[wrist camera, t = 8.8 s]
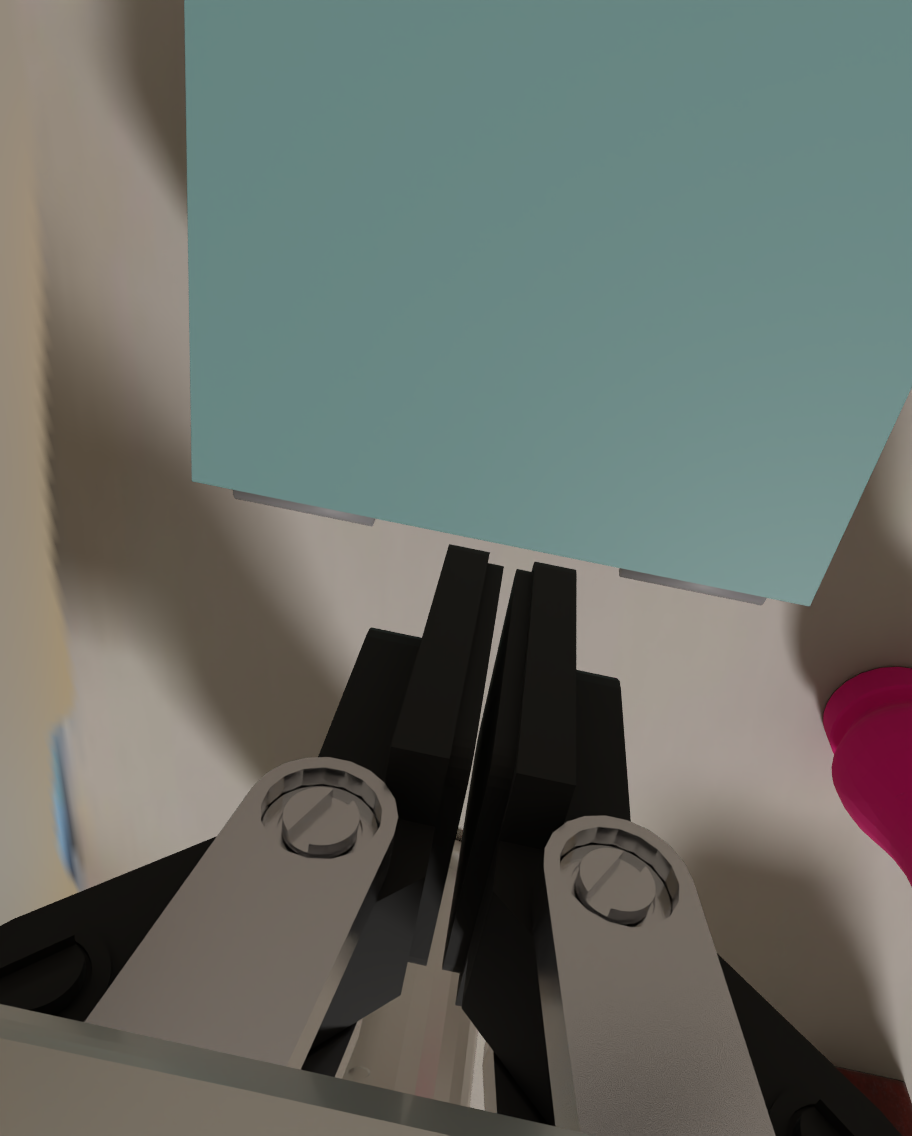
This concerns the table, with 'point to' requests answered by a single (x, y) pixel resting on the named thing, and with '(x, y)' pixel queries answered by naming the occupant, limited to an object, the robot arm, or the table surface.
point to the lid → (555, 271)
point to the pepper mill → (875, 756)
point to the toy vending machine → (885, 1097)
